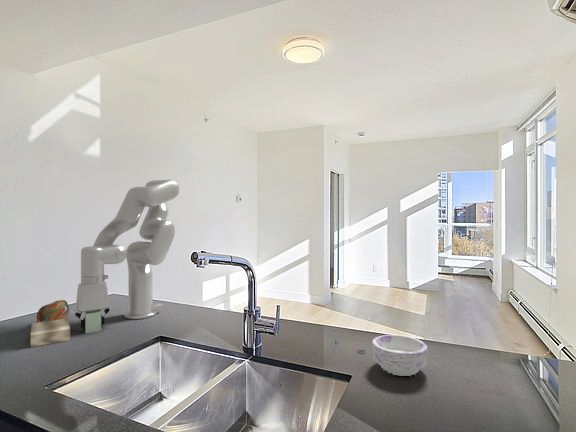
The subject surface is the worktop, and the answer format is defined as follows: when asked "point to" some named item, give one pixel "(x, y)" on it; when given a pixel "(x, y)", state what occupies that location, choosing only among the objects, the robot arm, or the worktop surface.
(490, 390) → the worktop surface
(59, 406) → the worktop surface
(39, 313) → the tin
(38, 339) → the riser block
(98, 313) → the block
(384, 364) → the white round bowl
